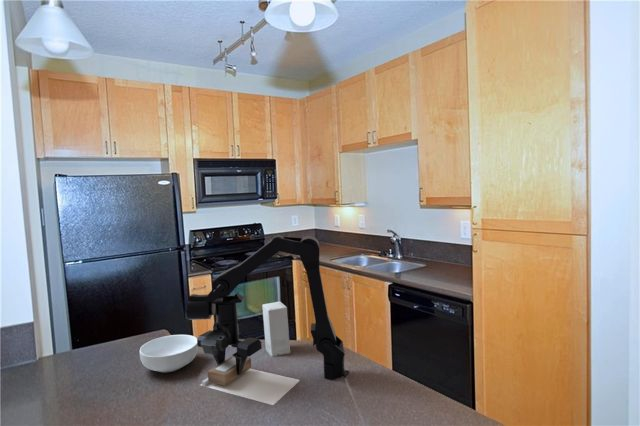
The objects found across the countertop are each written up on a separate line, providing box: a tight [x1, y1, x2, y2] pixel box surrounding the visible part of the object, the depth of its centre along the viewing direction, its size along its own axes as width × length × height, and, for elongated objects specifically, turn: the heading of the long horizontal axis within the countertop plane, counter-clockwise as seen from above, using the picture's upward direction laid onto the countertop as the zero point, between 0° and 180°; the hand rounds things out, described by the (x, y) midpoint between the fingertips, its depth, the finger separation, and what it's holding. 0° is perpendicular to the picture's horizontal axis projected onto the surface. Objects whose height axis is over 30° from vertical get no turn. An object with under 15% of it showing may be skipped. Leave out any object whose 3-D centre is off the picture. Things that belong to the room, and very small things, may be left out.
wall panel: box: [200, 368, 301, 406], centre depth 104 cm, size 13×24×2 cm, turn 63°
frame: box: [207, 356, 252, 386], centre depth 107 cm, size 11×6×3 cm, turn 153°
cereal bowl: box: [139, 334, 199, 373], centre depth 117 cm, size 17×17×7 cm
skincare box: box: [261, 301, 291, 357], centre depth 124 cm, size 8×7×16 cm
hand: (230, 372), depth 107 cm, fingers closed on frame, 6 cm apart
